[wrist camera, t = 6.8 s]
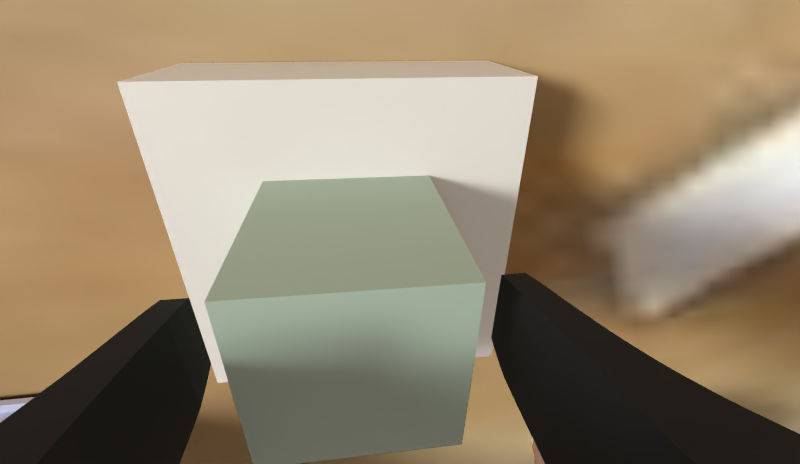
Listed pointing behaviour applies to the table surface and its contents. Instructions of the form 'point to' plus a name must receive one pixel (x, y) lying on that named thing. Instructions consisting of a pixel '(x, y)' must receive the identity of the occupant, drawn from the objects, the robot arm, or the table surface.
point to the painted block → (329, 149)
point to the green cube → (347, 319)
